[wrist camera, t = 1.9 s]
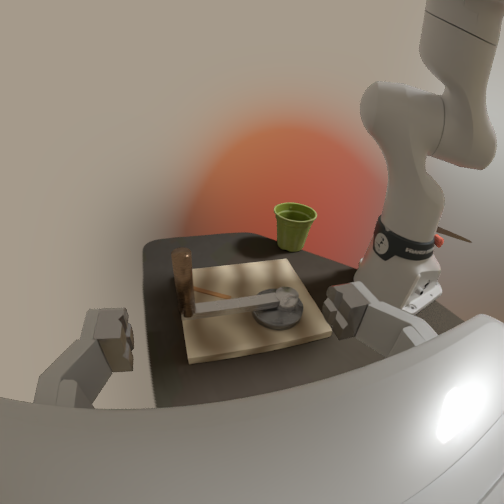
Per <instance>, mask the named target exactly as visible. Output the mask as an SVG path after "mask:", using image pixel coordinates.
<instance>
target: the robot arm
mask: <svg viewBox="0 0 504 504" xmlns="http://www.w3.org/2000/svg"><path fill="white" fill-rule="evenodd" d="M503 16H504V0H427V1H426V8H425V15H424V22H423V28H422V34H421V39H420V45H419V52H420V56H421V59H422V61H423V62H424V64H425V65H426V66H427V68H428V69H429V70H430V71H431V72H432V73H433V74H434V75H435V76H436V77H437V78H438V79H439V80H440V81H441V82H442V83H443V84H444V85H445V91H444V93H443V95H436V94H433V93H430V92H428V91H425V90H422V89H419V88H416V87H412V86H409V85H406V84H403V83H393V82H379V81H378V82H375V83H373V84H372V85H370V86H369V87H368V88H367V90H366V91H365V93H364V94H363V97H362V99H361V103H360V115H361V119H362V122H363V124H364V127H365V128H366V130H367V131H368V133H369V134H370V135H371V136H372V137H373V138H374V140H375V141H376V142H377V144H378V145H379V147H380V149H381V150H382V153H383V155H384V157H385V160H386V164H387V169H388V186H387V192H386V198H385V203H384V207H383V211H382V215H380V216H379V218H378V221H377V223H376V227H375V231H374V235H373V237H372V239H371V242H370V244H369V246H368V248H367V251H366V253H365V255H364V258H361V259H360V262H359V268H358V270H357V271H356V273H355V275H354V282H351V283H346V284H340V285H334V286H330V287H329V288H328V289H327V293H326V295H327V296H328V298H327V299H326V300H325V302H324V304H323V308H322V309H323V316H324V319H325V320H326V322H327V323H328V324H330V325H332V331H333V332H334V334H335V335H336V337H337V338H338V340H343V339H347V338H351V337H355V338H357V339H358V340H360V341H361V342H363V343H364V344H366V345H367V346H369V347H370V348H372V349H373V350H375V351H376V352H378V353H380V354H381V355H383V356H384V357H386V359H383V360H380V361H378V362H375V363H372V364H370V365H367V366H364V367H361V368H358V369H355V370H352V371H349V372H346V373H343V374H340V375H337V376H334V377H330V378H327V379H324V380H320V381H317V382H313V383H309V384H305V385H302V386H298V387H294V388H290V389H285V390H281V391H276V392H272V393H267V394H262V395H257V396H252V397H247V398H241V399H235V400H229V401H222V402H215V403H207V404H199V405H190V406H179V407H167V408H151V409H95V408H94V407H93V405H92V403H93V402H94V400H95V399H96V397H97V396H98V394H99V393H100V391H101V390H102V388H103V387H104V385H105V384H106V382H107V381H108V379H109V377H110V376H111V374H112V372H125V371H133V355H132V352H131V351H132V350H133V349H134V338H133V331H132V327H131V324H129V323H128V313H127V310H126V308H104V309H89V310H88V311H87V314H86V317H85V321H84V325H83V329H82V333H81V337H80V340H76V341H75V342H74V343H73V344H72V345H71V346H69V348H67V349H66V350H65V351H64V352H63V353H62V354H61V355H60V356H59V357H58V358H57V359H56V360H55V361H54V362H53V363H52V364H51V365H50V366H49V367H48V368H47V369H46V370H45V371H44V372H43V373H42V374H41V375H40V376H39V380H38V384H37V388H36V393H35V398H34V402H33V403H28V402H22V401H17V400H12V399H6V398H2V397H0V504H504V323H502V322H500V321H499V320H497V319H495V318H493V317H490V316H488V315H485V314H479V315H477V316H474V317H473V318H471V319H470V320H468V321H466V322H464V323H462V324H460V325H458V326H456V327H454V328H453V329H451V330H449V331H447V332H445V333H443V334H441V335H439V336H438V335H437V333H436V332H435V331H434V330H433V329H432V328H431V327H430V326H429V325H428V324H427V323H426V321H425V320H423V319H421V318H419V317H416V316H414V315H415V314H417V313H418V312H420V311H421V310H422V309H424V308H425V307H426V306H428V305H429V304H430V303H432V302H433V301H434V300H435V299H437V298H438V297H439V296H440V295H441V294H442V288H441V286H440V284H439V283H438V281H437V280H438V278H439V276H440V273H441V268H440V265H439V263H438V261H437V260H436V258H435V256H434V255H433V250H434V244H435V245H436V246H437V247H441V245H442V244H443V241H444V239H443V238H441V237H439V235H438V234H436V235H435V233H436V230H437V227H438V224H439V221H440V218H441V215H442V212H443V209H444V206H445V197H444V193H443V191H442V189H441V187H440V186H439V185H438V184H437V182H436V181H435V180H434V179H433V178H432V177H431V176H430V175H429V174H428V173H427V172H426V169H425V160H426V156H432V157H434V158H437V159H440V160H443V161H445V162H448V163H451V164H454V165H456V166H459V167H464V168H470V169H477V170H483V169H485V168H486V167H487V166H488V165H489V164H490V163H491V162H492V160H493V158H494V156H495V153H496V147H497V140H496V134H495V131H494V128H493V126H492V124H491V122H490V120H489V117H488V114H487V108H486V87H487V82H488V79H489V74H490V71H491V67H492V63H493V59H494V56H495V52H496V48H497V45H498V41H499V36H500V30H501V23H502V18H503Z"/></svg>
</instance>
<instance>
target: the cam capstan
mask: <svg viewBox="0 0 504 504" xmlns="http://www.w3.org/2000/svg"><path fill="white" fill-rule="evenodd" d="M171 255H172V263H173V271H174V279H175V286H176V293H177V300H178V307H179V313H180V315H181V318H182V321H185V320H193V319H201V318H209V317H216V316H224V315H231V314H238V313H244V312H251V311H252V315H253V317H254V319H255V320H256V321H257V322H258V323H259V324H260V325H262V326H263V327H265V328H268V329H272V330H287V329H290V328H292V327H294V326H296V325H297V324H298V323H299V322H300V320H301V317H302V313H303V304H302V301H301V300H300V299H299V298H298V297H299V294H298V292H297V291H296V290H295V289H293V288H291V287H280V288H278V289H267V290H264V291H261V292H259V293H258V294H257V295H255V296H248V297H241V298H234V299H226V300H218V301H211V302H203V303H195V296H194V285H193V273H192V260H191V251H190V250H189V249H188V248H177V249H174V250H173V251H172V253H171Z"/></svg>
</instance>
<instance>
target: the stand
mask: <svg viewBox="0 0 504 504" xmlns="http://www.w3.org/2000/svg"><path fill="white" fill-rule="evenodd" d="M192 273H193V285H194V296H195V303H203V302H211V301H218V300H226V299H234V298H241V297H248V296H255V295H257V294H258V293H259V292H261V291H264V290H267V289H278V288H280V287H291V288H293V289H295V290H296V291H297V292H298V294H299V297H298V298H299V299H300V300H301V301H302V304H303V313H302V317H301V320H300V322H299V323H298V324H297V325H296V326H294V327H292V328H290V329H287V330H272V329H268V328H265V327H263V326H262V325H260V324H259V323H258V322H257V321H256V320H255V319H254V317H253V315H252V311H251V312H244V313H238V314H231V315H224V316H216V317H209V318H201V319H193V320H185V321H182V323H183V330H184V337H185V344H186V350H187V356H188V362H189V364H195V363H203V362H210V361H216V360H223V359H229V358H235V357H241V356H246V355H252V354H257V353H262V352H267V351H272V350H277V349H281V348H286V347H290V346H295V345H299V344H303V343H307V342H311V341H315V340H319V339H323V338H327V337H330V336H331V334H332V329H331V327H330V325H329V324H328V323H327V322H326V320H325V319H324V316H323V314H322V313H321V311H320V310H319V308H318V306H317V305H316V303H315V302H314V300H313V299H312V297H311V296H310V294H309V292H308V291H307V289H306V288H305V286H304V285H303V283H302V282H301V280H300V278H299V277H298V275H297V274H296V272H295V271H294V269H293V268H292V266H291V265H290V263H289V262H288V260H287V259H279V260H271V261H262V262H253V263H244V264H235V265H226V266H217V267H208V268H199V269H192Z"/></svg>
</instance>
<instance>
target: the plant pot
mask: <svg viewBox="0 0 504 504" xmlns="http://www.w3.org/2000/svg"><path fill="white" fill-rule="evenodd" d="M274 213H275V214H276V219H277V244H278V246H279V247H280V248H281V249H283V250H284V249H285V250H288V251H290V252H297V251H300V250H301V249H302V248H303V246H304V243H305V241H306V238H307V235H308V232H309V229H310V226H311V225H312V223H313V221H314V220H315V219H316V217H317V214H316V212H315V211H314V210H313V209H312V208H310V207H308V206H306V205H302V204H298V203H282V204H279V205H277V206H275V208H274Z"/></svg>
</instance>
